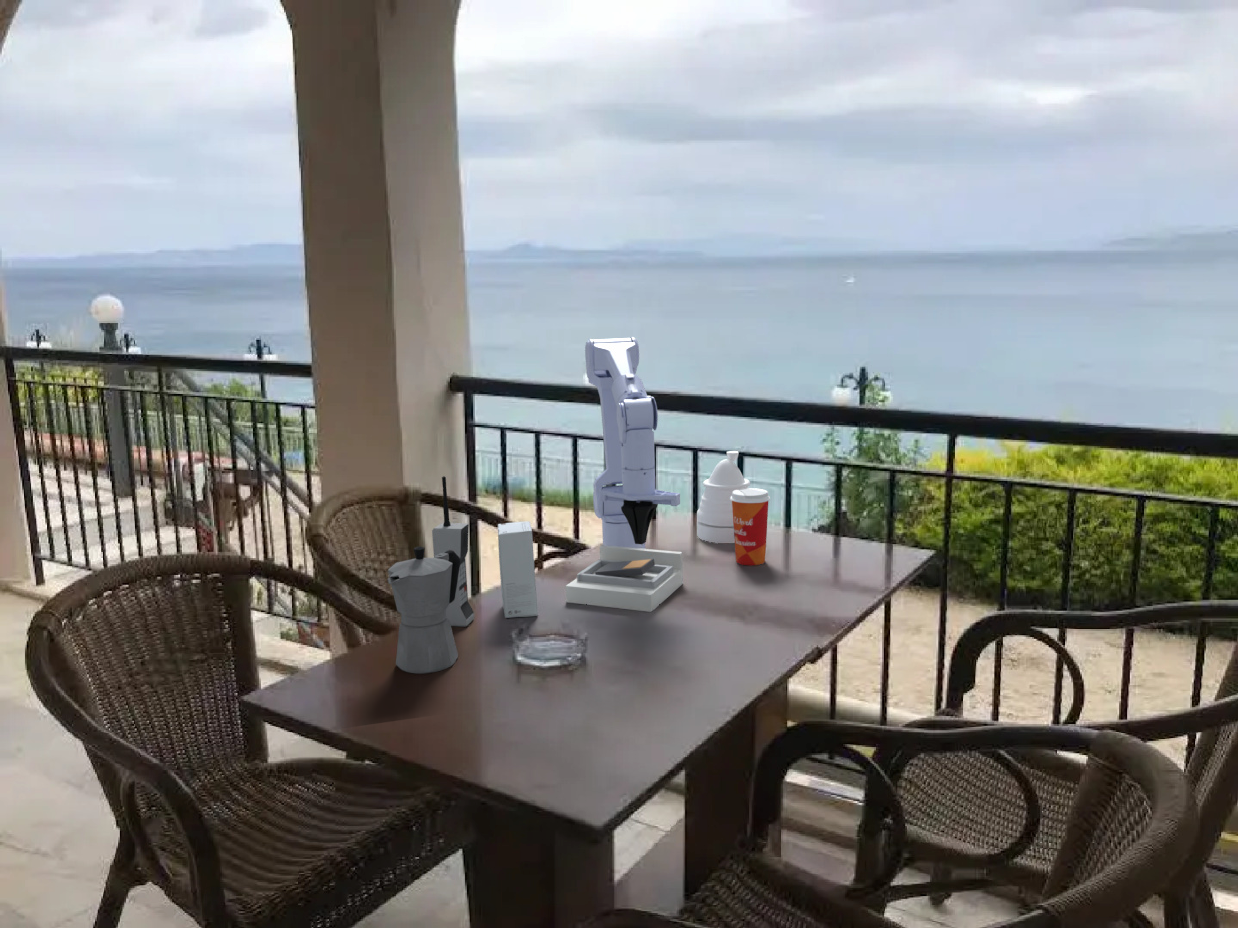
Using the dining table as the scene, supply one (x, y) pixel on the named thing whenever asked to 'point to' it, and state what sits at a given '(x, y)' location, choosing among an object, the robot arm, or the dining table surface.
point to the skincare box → (517, 569)
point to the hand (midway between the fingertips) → (640, 542)
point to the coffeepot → (425, 610)
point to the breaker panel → (628, 580)
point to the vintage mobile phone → (457, 540)
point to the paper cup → (750, 525)
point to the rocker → (626, 568)
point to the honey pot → (720, 501)
